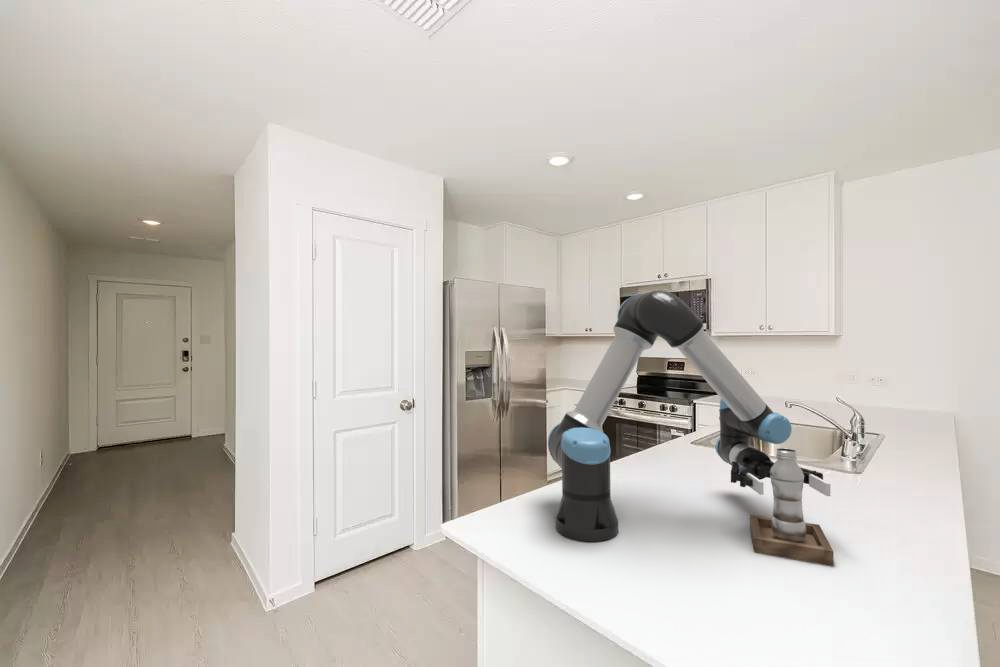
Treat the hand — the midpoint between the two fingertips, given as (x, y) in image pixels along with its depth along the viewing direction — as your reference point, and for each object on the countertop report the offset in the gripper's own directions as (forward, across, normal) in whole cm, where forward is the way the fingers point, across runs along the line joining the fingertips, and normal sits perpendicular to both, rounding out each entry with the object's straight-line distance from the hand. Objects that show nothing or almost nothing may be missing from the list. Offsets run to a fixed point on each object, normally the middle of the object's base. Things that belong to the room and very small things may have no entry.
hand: (795, 489), depth 96 cm
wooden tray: (-3, 0, -14) cm, 14 cm away
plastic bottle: (-3, 0, -13) cm, 13 cm away
